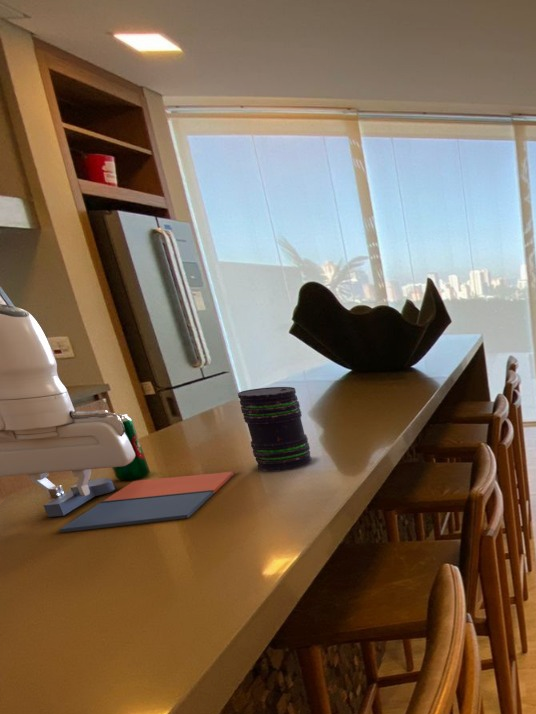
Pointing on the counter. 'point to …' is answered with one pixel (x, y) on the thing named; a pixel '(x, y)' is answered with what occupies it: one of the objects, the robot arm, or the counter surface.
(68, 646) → the counter surface
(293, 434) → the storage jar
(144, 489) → the sorting mat
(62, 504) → the rounded-end blue bar
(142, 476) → the soda can
